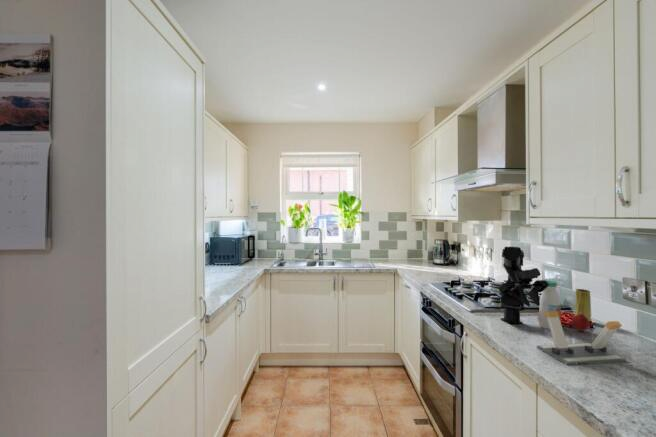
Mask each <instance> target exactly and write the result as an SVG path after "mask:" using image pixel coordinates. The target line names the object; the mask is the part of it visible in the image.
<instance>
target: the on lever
mask: <svg viewBox="0 0 656 437" xmlns="http://www.w3.org/2000/svg"><path fill="white" fill-rule="evenodd" d="M621 327H622V323H621V322H619V321H618V320H617V321H616V320H614V321H607V322H606V324H605V325H604V327H603V328H602V330H600V332H599V334H597V336H596V337H595V339H594V340H593V341H592V343H591V345H590V347H591V348H594V350H599V349H602V348H603V347H606V345H607V344H608V343H609V341H610V340H611V338H612V337H613V336H614V335H615V333H616V332H617V331H618V330H619V329H621Z"/></svg>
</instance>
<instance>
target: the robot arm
mask: <svg viewBox="0 0 656 437" xmlns="http://www.w3.org/2000/svg"><path fill="white" fill-rule="evenodd" d="M501 251H502V252H501V257H502V258H503V265H502V266H503V268H504V270H505V272H506V273H507V280H505V281H503V282H502V284H500V286H499V287H498V290H499V293H500V294H501V296H500V308H501V309H503V317H501V318H500V320H502V321H503V322H504V323H506V324H509V325H516V324H517V325H518V324H520V325H521V324H523V321H521V314H520V312H523V311H525V305H526V306H527V307H530V306H531V303H530V301H529V299H528V297H527V296H529V298H530V299H531V300H532V301H533V303H534V304H535V305H536V306H537V307H539V305H540V295H539V294H540V293H543V291H544V290H545V289H546V288H547V287H548V286H549V284H548V283H547V281H548V280H545V279H541V280H540V279H538V278H539V277H540V276H541V272H540V270H539V269H538V268H534V267H533V268H531V269H524V270H523V269H522V267H523V266H524V258H525V252H524V251H523V249H521V247H519V246H504V248H502V250H501ZM533 279H538V280H535V281H534V280H533ZM533 281H534V282H533ZM532 282H533V283H532ZM525 290H527V291H528V292H527V296H526V294H525V292H524V291H525Z"/></svg>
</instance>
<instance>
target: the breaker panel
mask: <svg viewBox="0 0 656 437" xmlns="http://www.w3.org/2000/svg"><path fill="white" fill-rule="evenodd" d="M591 344H592V343H591V342H582V343H567V345H568V351H564V352H560V350H558V349H557V348H556V347H555V344H546V345H545V344H544V345H543V344H541V345H536V348H537V350H540V351H541V350H542V351H541V352H543V351H544V352H543V353H545V352H546V353H545V354H547V355H548V354H549V355H548V356H550V355H552V356H553V357H552V356H551V357H552V358H554V357H555V358H557V359H558V360H557V359H556V360H557V361H559V360H560V361H559V362H561V361H562V362H564V363H566V364H575V365H577V364H576V363H591V364H601V362H602V364H604V363H603V362H607V363H619V362H621V363H622V362H626V359H627V358H624V357H622V356H620V355H619V354H616V353H613V352H611V351H609V350H607V349H608V348H607V347H606V346H604V347H603V348H602V349H599V350H594V348H591V347H590V345H591ZM555 358H554V359H555ZM562 362H561V363H562ZM564 363H563V364H564ZM566 364H565V365H566Z"/></svg>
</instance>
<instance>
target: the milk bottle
mask: <svg viewBox="0 0 656 437" xmlns="http://www.w3.org/2000/svg"><path fill="white" fill-rule="evenodd" d="M546 281H547V283H548V284H549V286H548V287H547V288H546V289H545V290H543V291H542V292H541V293H540V294H541V295H539V301H540V305H539V306H538V307H539V308H538V309H539V311H538V325H539V327H541V328H542V329H543V328H544V329H547V330H550V326H549V323H548V319H547V317H546V314H545V312H551V311H558V314H559V319H560V322H561V314H562V313H561V311H562V308H561V307H562V306H561V298H560V296H559V294H558V291H557V286H558V284H557V282H556V281H553V280H546Z"/></svg>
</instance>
